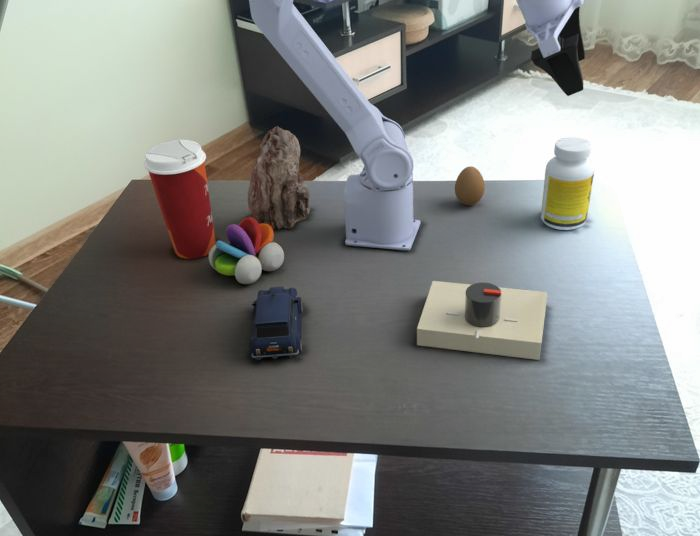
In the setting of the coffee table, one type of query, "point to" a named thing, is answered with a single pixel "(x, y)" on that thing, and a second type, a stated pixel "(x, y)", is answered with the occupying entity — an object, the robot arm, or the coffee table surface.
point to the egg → (469, 186)
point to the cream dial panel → (499, 339)
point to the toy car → (276, 323)
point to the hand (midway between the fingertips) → (576, 76)
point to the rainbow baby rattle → (247, 251)
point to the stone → (278, 182)
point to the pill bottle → (568, 184)
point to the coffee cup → (183, 195)
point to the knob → (482, 304)
